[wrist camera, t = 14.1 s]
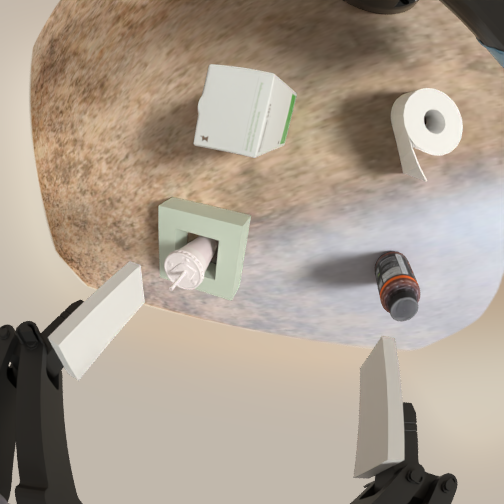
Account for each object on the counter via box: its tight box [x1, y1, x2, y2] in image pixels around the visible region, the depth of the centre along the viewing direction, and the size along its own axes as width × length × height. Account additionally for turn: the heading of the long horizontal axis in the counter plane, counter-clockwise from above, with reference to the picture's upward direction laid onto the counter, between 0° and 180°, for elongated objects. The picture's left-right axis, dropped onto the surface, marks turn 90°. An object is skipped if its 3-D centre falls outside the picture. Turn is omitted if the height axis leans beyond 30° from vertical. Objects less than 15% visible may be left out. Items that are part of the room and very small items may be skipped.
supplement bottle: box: [375, 252, 420, 321], centre depth 35 cm, size 6×6×11 cm
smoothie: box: [164, 235, 218, 291], centre depth 41 cm, size 6×6×14 cm
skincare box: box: [194, 64, 297, 158], centre depth 28 cm, size 8×7×16 cm
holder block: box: [158, 197, 251, 301], centre depth 45 cm, size 14×14×4 cm
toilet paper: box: [391, 88, 463, 182], centre depth 26 cm, size 8×11×7 cm
